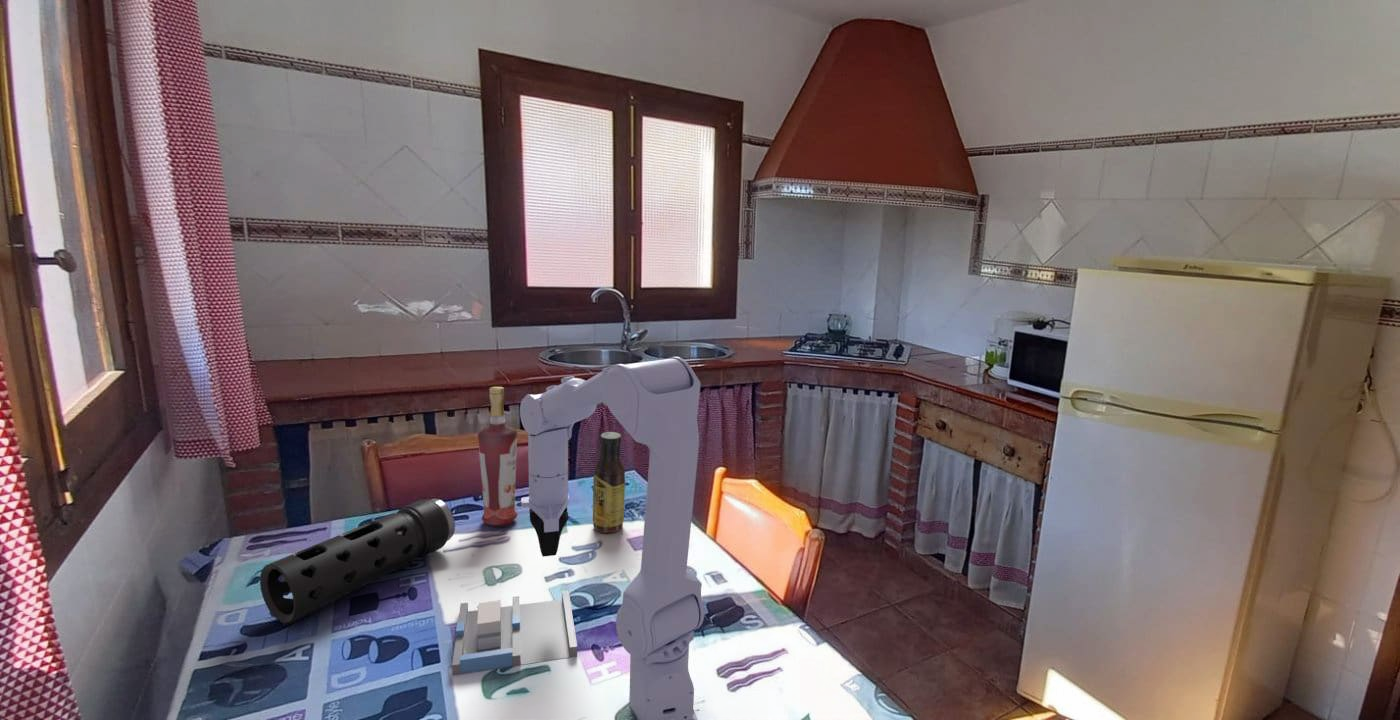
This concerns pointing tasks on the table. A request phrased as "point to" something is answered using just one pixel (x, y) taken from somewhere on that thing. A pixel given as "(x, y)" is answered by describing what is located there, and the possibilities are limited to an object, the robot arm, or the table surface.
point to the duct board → (517, 636)
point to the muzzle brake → (354, 559)
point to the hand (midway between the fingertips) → (548, 553)
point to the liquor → (498, 464)
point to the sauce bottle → (609, 486)
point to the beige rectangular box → (489, 625)
